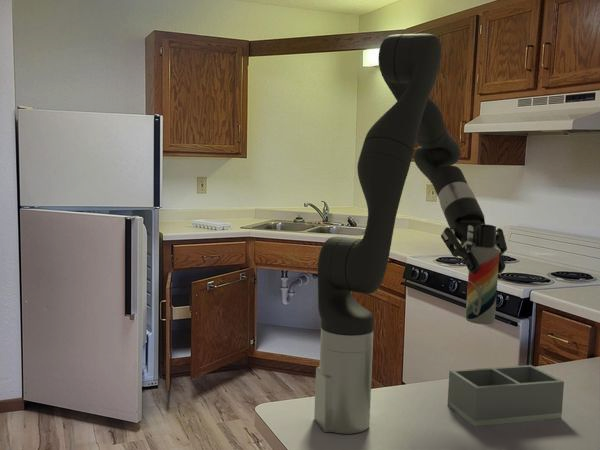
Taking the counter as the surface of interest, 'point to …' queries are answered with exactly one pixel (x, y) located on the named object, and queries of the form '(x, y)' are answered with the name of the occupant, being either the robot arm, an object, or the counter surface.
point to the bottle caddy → (505, 395)
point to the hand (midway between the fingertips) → (488, 271)
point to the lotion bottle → (483, 277)
